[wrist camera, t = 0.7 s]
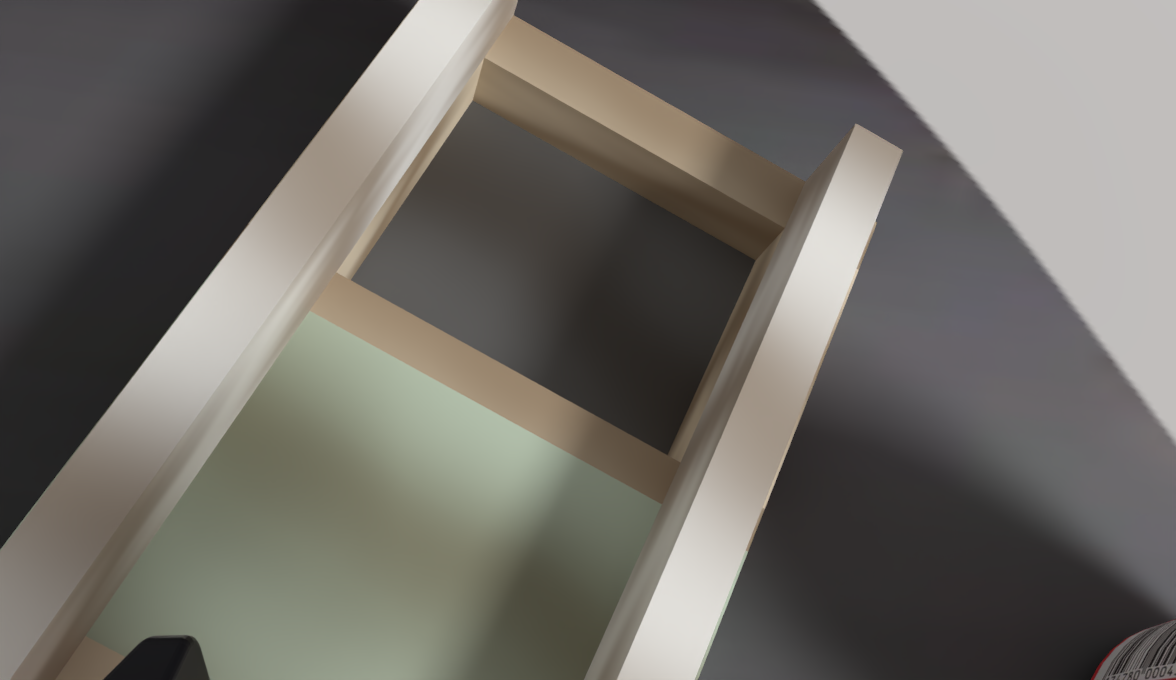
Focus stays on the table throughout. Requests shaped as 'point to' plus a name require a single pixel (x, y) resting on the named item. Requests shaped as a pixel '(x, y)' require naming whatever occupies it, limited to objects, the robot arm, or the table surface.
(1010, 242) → the table surface
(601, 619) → the lane board
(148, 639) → the robot arm
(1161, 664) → the soda can
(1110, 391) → the table surface
